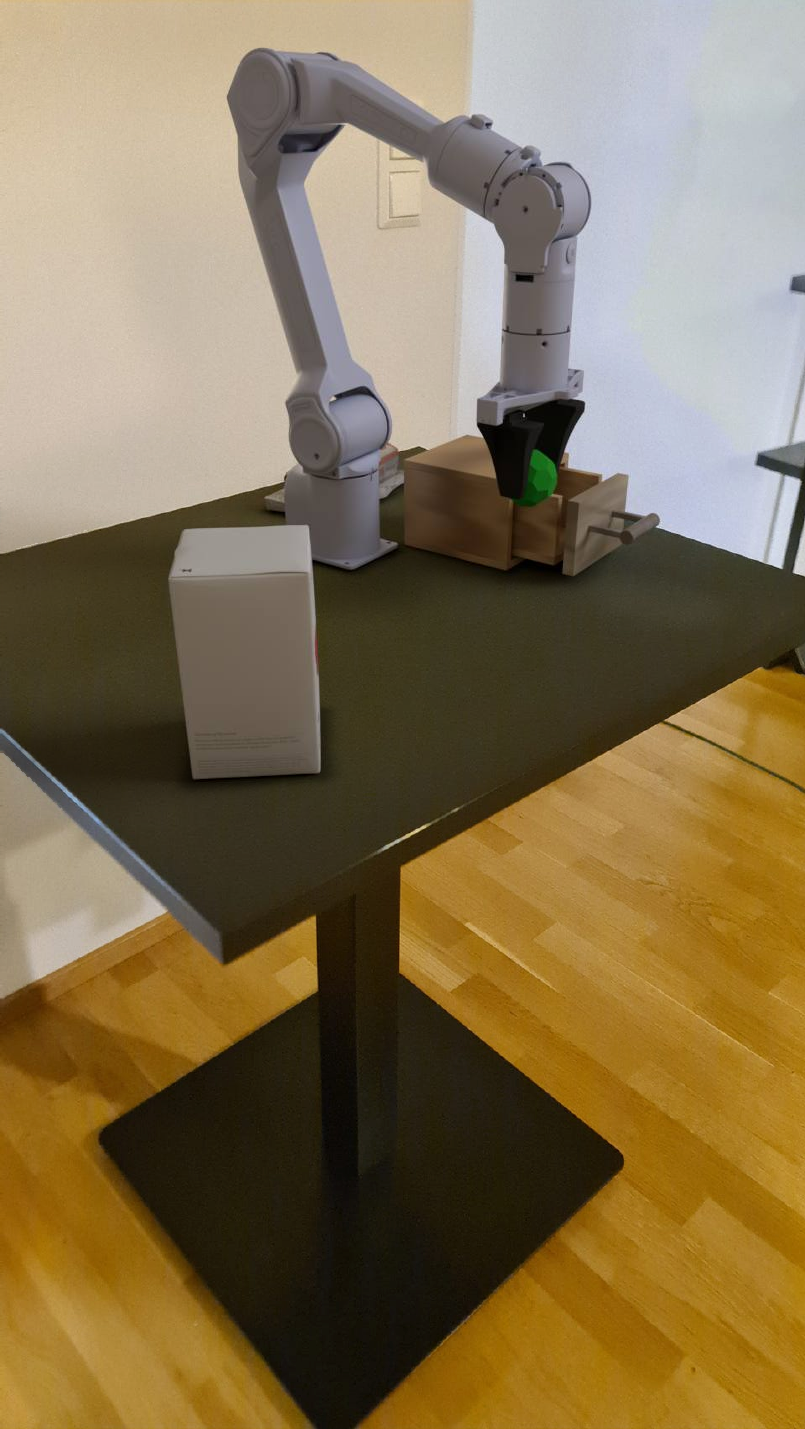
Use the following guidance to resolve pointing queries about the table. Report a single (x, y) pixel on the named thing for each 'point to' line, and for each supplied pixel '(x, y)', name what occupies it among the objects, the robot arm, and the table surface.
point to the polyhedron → (538, 480)
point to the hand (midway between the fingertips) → (527, 489)
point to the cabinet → (459, 504)
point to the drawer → (577, 521)
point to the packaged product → (387, 478)
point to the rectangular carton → (247, 650)
